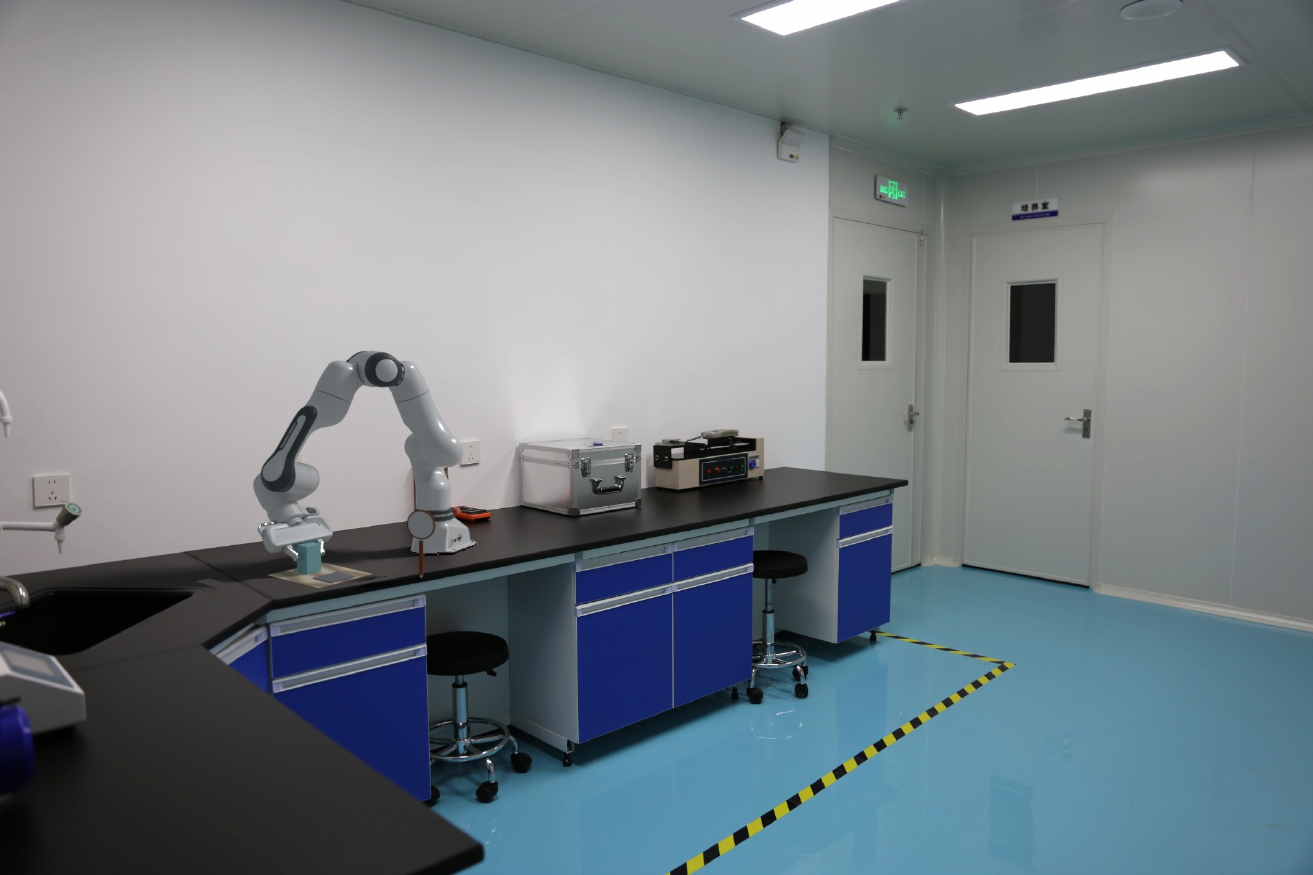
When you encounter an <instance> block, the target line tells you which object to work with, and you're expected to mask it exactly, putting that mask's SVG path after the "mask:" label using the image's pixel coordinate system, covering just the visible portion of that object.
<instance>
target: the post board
mask: <svg viewBox="0 0 1313 875" xmlns="http://www.w3.org/2000/svg"><path fill="white" fill-rule="evenodd" d="M333 572H341V573H345V574H349V575H353V576H356V577H354V578H350V579H347V580H343V581H339V582H335V583H328V582H324V581H320V580H316V579H313V577H317V576H321V575H325V574H329V573H333ZM371 575H372V573H371V572H366V571H361V570H357V569H353V568H349V567H343V566H341V565H335V564H331V563H326V562H322V561H321V571H320V572H316V573H312V574H308V575H307V574H302V573H298V572H297V567H296V568H292V569H288V570H284V571H280V572H275V573H272V574H268V576H270V577H274V578H277V579H281V580H285V581H288V582H293V583H297V584H301V585H304V586H309V587H312V588H316V589H320V588H324V587H328V586H332V585H337V584H340V583H344V582H347V581H351V580H356V579H359V578H363V577H366V576H371Z"/></svg>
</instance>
